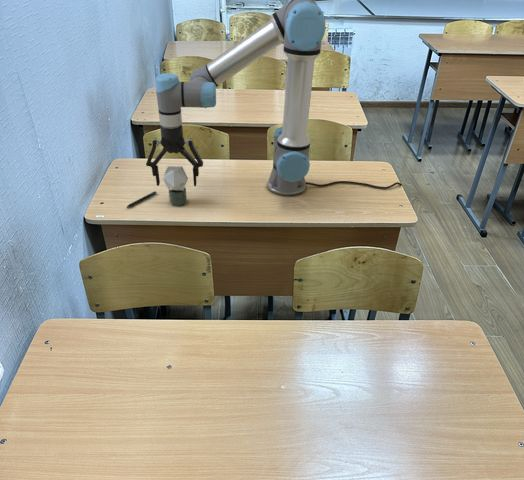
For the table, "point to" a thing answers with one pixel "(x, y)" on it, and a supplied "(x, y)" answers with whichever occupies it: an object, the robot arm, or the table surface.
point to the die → (175, 178)
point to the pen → (141, 199)
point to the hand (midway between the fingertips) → (176, 184)
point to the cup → (178, 197)
